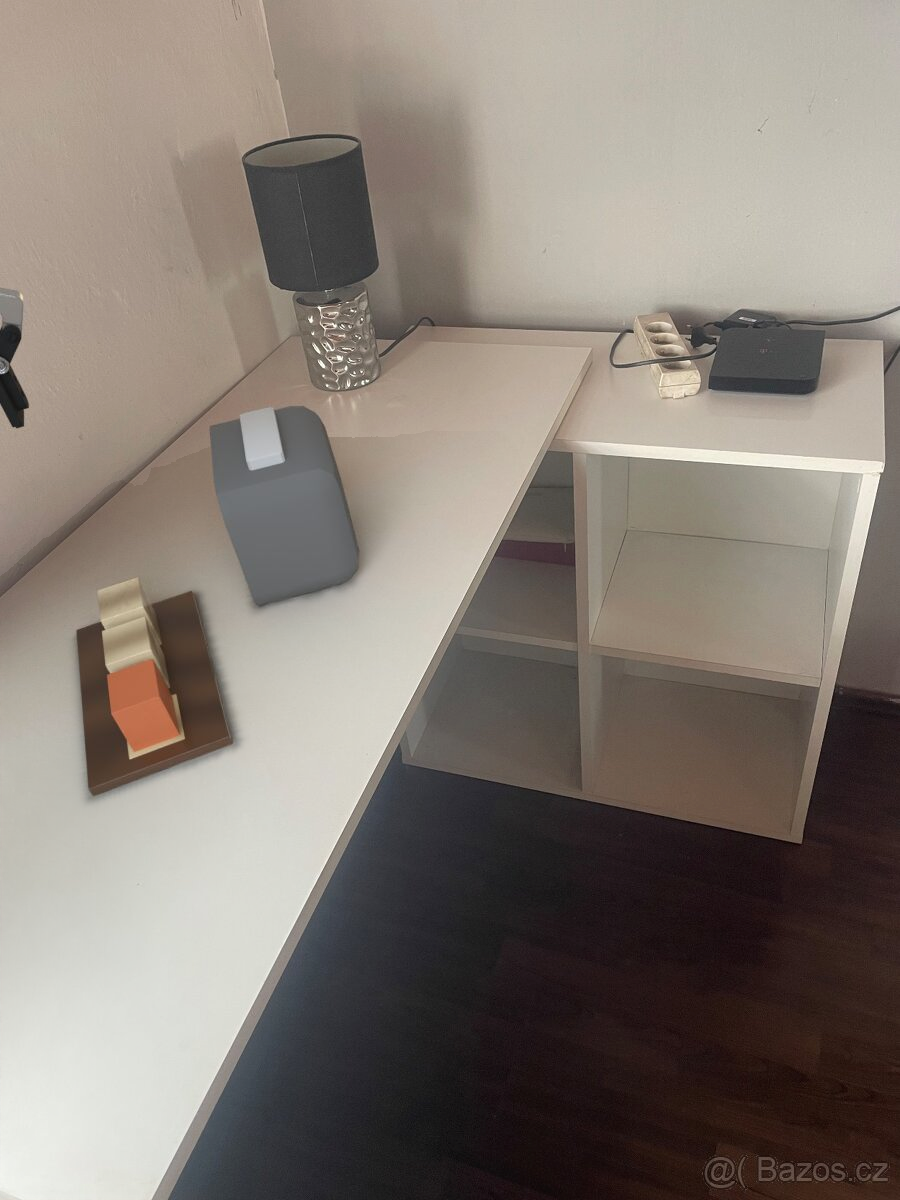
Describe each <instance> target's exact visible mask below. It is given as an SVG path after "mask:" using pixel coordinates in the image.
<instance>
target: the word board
mask: <svg viewBox="0 0 900 1200" xmlns="http://www.w3.org/2000/svg"><path fill="white" fill-rule="evenodd" d="M151 605H152V607H153V609H154V611H155V613H156V616H157V621H158V626H159V631H160V637H161V642H162V645H159V646H160V648H161V650H162V652H163V654H164V658H165V663H166V668H167V673H168V678H169V684H170V688H169V691H170V693H171V695H172V697H173V702H174V707H175V713H176V718H177V723H178V728H179V733H180V735H179V736H176V737H174V738H171V739H168V740H166V741H163V742H160V743H158V744H155V745H152V746H150V747H147V748H144V749H141V750H139V751H136V752H134V751H133V750H132V748H131V746H130V745H129V743H128V741H127V740H126V738H125V736H124V734H123V733H122V731H121V729H120V728H119V726H118V724H117V723H116V721H115V719H114V718H113V716H112V714H111V706H110V698H109V689H108V680H107V675H108V674H110V672H109V671H108V669H107V667H106V664H105V655H104V646H103V637H102V631H104V630H105V628H104V626H103V624H102V623H101V621H98V622H95V623H93V624H89V625H87V626H83V627H80V628H78V629H76V630H75V631H76V642H77V644H76V645H77V656H78V657H77V658H78V668H79V669H78V670H79V683H80V685H79V686H80V697H81V710H82V722H83V723H82V724H83V735H84V737H83V738H84V749H85V763H86V775H87V789H88V791H89V793H90V794H91V796H93V797H96V796H97V795H101V794H103V793H106V792H109V791H112V790H113V789H116V788H119V787H122V786H124V785H127V784H129V783H132V782H135V781H138V780H140V779H143V778H145V777H148V776H150V775H155V774H156V773H158V772H161V771H164V770H167V769H169V768H172V767H174V766H178V765H180V764H182V763H185V762H188V761H190V760H193V759H196V758H198V757H201V756H204V755H206V754H208V753H211V752H215V751H217V750H220V749H222V748H224V747H227V746H231V745H232V744H233V740H232V737H231V732H230V728H229V724H228V721H227V720H228V719H227V717H226V712H225V708H224V705H223V701H222V696H221V693H220V689H219V685H218V681H217V677H216V674H215V673H216V672H215V669H214V665H213V662H212V658H211V653H210V650H209V646H208V642H207V638H206V634H205V631H204V626H203V622H202V618H201V615H200V611H199V606H198V603H197V599H196V596H195V594H194V592H193V590H189V591H186V592H184V593H181V594H178V595H174V596H171V597H169V598H165V599H162V600H160V601H157V602H154V603H151Z"/></svg>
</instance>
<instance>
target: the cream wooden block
mask: <svg viewBox="0 0 900 1200" xmlns="http://www.w3.org/2000/svg"><path fill="white" fill-rule="evenodd" d="M102 637H103V646H104V655H105V664H106V667H107V669H108V671H109V672H110V674H111V673H114V672H117V671H119V670H122V669H125V668H128V667H131V666H134V665H136V664H139V663H142V662H145V661H148V660H151V659H153V660H154V662H155V664H156V666H157V668H158V670H159V672H160V674H161V676H162V678H163V680H164V682H165V683H166V685H167V687H168V689H169V688H170V684H169V678H168V673H167V668H166V663H165V658H164V654H163V652H162V650H161V648H160V646H159V644H158V642H157V639H156V637H155V635H154V633H153V631H152V629H151V627H150V625H149V623H148V621H147V619H146V617H142V618H139V619H136V620H133V621H130V622H127V623H124V624H121V625H118V626H116V627H113V628H110V629H107V630H104V631H102Z"/></svg>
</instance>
